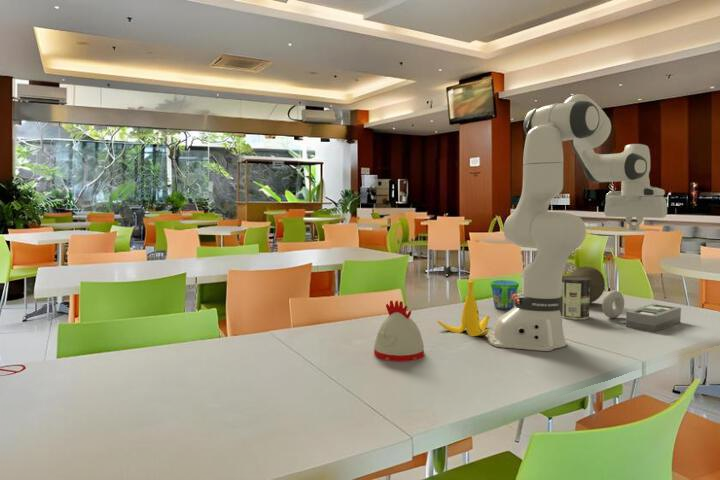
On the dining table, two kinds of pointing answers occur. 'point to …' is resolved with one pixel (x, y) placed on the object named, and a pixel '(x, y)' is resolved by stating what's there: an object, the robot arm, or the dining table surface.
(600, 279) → the coconut
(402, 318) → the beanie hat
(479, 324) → the banana peel
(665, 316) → the keypad
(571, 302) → the coffee can
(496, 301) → the snack cup
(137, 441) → the dining table surface
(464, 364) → the dining table surface
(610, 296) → the donut
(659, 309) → the key mid
